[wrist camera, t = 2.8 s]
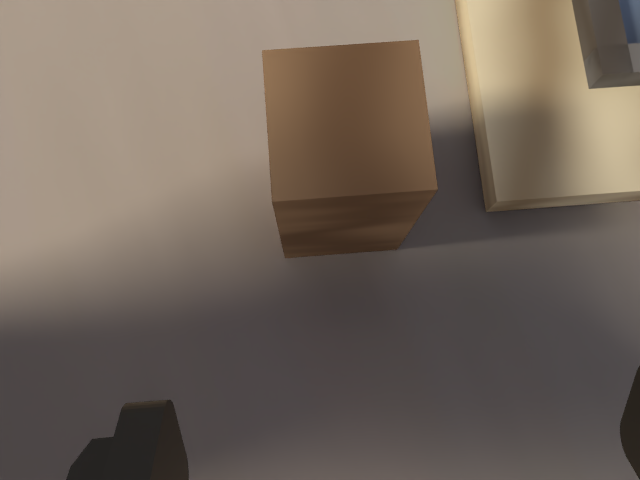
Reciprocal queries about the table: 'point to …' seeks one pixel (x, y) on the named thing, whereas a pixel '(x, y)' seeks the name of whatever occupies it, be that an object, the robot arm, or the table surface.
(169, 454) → the robot arm
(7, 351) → the table surface
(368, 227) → the walnut block
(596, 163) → the base board
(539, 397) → the table surface
